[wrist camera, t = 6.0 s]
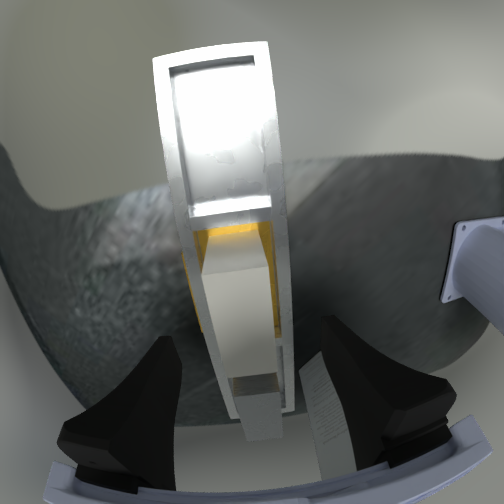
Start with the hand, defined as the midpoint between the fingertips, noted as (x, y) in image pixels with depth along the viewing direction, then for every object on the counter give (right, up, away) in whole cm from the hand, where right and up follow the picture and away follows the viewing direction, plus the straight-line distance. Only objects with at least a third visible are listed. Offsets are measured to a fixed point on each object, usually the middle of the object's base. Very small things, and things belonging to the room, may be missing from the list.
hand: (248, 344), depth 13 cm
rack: (-1, +3, +6) cm, 7 cm away
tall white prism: (-1, +2, +6) cm, 6 cm away
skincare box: (+8, -6, +11) cm, 15 cm away
